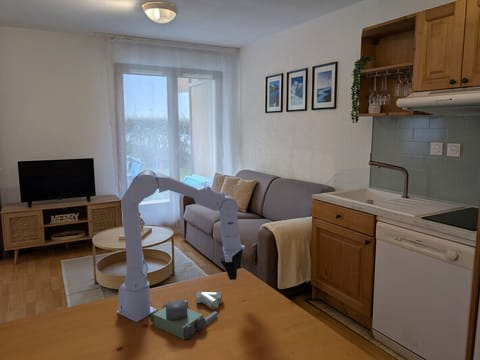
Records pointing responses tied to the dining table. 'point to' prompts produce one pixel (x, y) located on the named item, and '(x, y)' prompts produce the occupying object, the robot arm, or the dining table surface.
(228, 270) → the robot arm
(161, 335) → the dining table surface
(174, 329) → the grey-green knobbed block
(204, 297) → the pipe fitting
